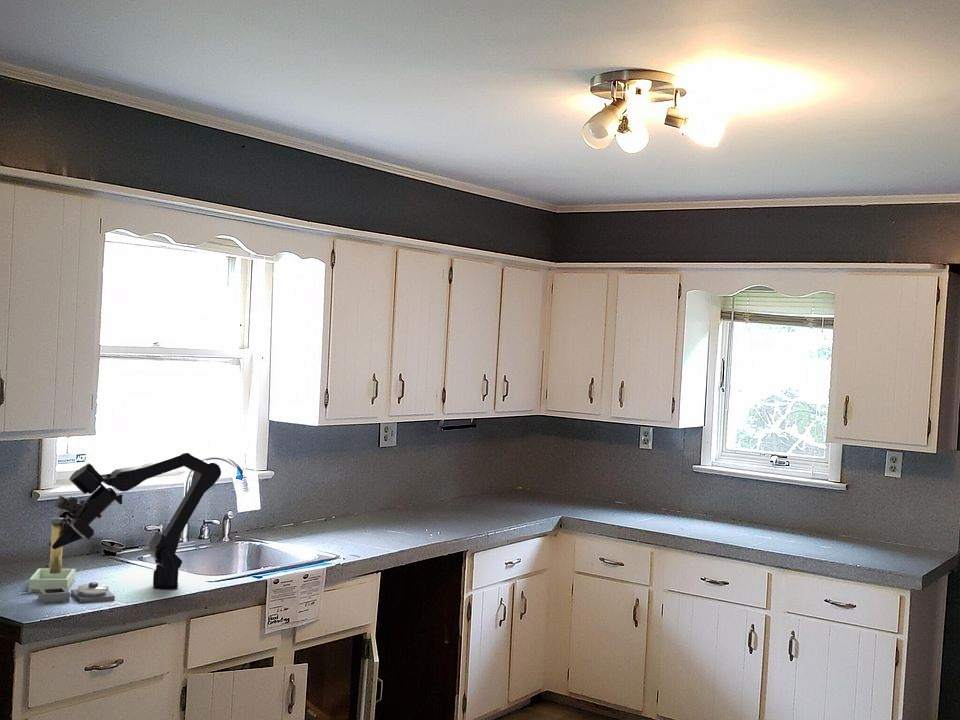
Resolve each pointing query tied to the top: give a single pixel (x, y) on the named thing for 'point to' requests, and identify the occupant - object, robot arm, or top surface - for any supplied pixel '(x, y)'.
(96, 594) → the grey low boxy pieces
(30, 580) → the tray
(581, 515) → the top surface
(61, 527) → the lock pin
